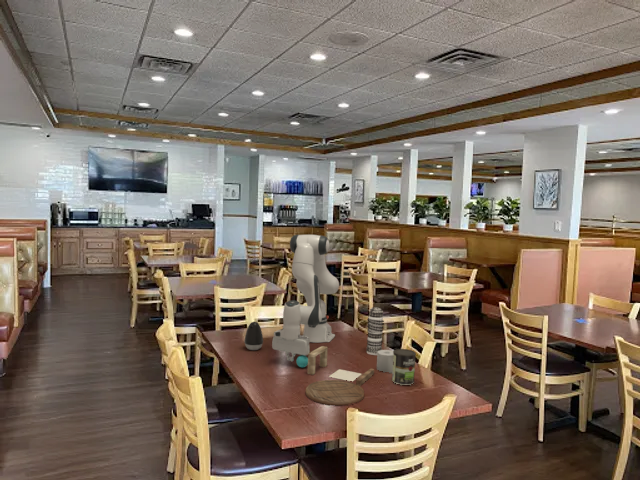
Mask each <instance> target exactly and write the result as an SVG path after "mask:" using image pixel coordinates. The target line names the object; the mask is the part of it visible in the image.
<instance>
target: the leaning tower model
mask: <svg viewBox="0 0 640 480" xmlns="http://www.w3.org/2000/svg"><path fill="white" fill-rule="evenodd" d="M368 312H369V313H368V318H367V319H366V321H367V323H366V324H367V325H366V327H367V330H366V331H367V339H366V344H367V345H366V353H367V354H368V355H372V356H377V351H379V350H383V332H384V327H383V326H384V325H385V324H384V322H385V321H384V315H383V314H384V310H383V309H382V308H381V307H377V306H374V307H373V306H372V307H371V308H370V309H368Z"/></svg>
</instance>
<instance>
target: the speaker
mask: <svg viewBox="0 0 640 480" xmlns="http://www.w3.org/2000/svg"><path fill="white" fill-rule="evenodd" d="M243 342H244V345H245V348H247V350H250V351H258V350H260V349H261V348H262V346H263V343H264V337H263V332H262V328H261V325H260V324H259V322H257V321H251V322H250V323H249V325H248V326H247V329H246V332H245V335H244V341H243Z"/></svg>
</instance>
